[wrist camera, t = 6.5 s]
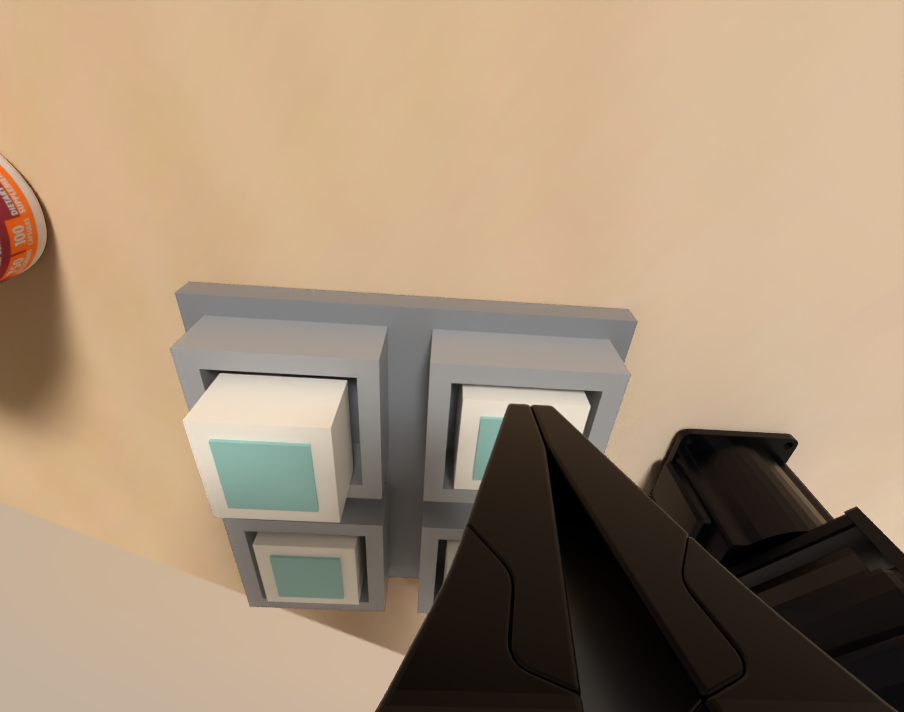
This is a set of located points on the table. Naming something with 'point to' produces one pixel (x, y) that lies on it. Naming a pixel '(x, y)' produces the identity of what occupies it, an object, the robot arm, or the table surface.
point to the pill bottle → (18, 223)
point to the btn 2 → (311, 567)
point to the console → (397, 400)
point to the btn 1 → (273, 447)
